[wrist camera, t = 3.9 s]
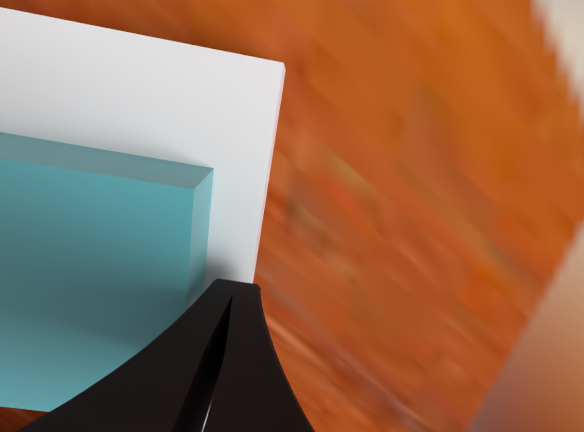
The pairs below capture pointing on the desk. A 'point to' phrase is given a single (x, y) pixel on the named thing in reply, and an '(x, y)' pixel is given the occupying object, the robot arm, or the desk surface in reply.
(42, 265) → the tile
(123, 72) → the white flat block
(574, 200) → the desk surface
